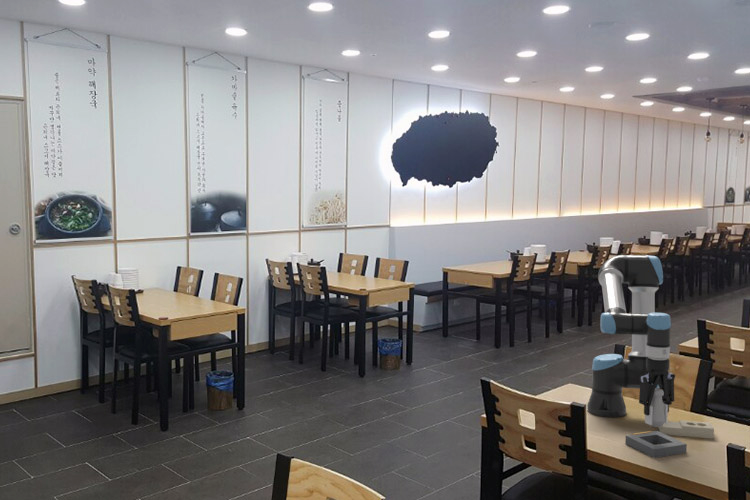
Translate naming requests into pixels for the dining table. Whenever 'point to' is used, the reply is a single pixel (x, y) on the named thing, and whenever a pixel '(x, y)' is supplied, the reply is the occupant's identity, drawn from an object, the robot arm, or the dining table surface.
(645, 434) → the caddy block
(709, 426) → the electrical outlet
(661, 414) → the salt shaker
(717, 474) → the dining table surface
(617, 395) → the robot arm
